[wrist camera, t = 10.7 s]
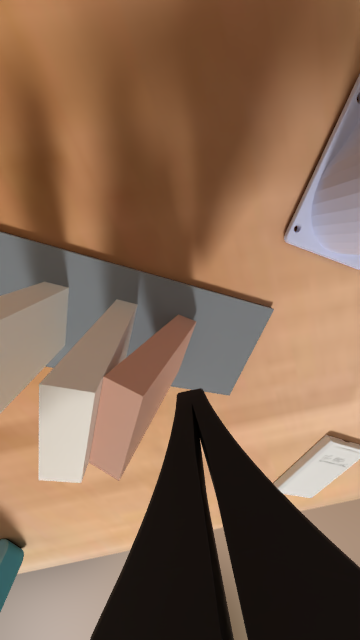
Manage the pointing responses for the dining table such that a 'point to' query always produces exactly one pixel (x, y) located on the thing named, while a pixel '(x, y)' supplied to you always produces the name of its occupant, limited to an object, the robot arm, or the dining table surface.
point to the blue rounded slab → (8, 567)
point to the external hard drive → (318, 467)
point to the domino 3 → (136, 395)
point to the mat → (141, 309)
